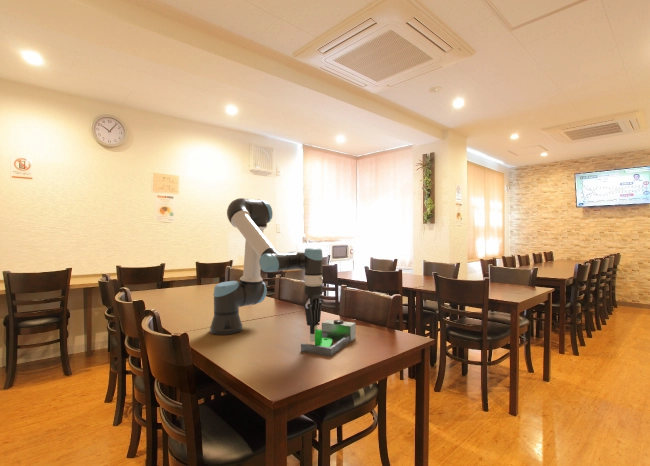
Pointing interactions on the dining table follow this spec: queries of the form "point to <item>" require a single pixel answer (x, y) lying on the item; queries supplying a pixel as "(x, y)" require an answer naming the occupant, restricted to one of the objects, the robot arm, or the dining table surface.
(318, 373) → the dining table surface
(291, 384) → the dining table surface
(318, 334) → the mechanical part
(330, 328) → the knobbed latch bracket
